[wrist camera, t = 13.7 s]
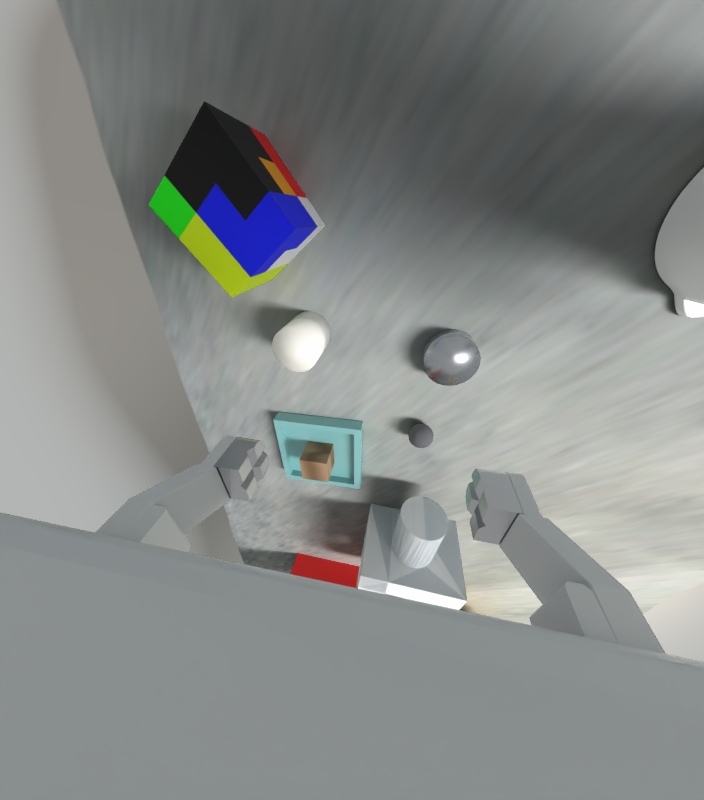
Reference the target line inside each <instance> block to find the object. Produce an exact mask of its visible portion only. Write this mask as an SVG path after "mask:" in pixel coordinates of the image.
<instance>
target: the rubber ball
mask: <svg viewBox="0 0 704 800" xmlns="http://www.w3.org/2000/svg"><path fill="white" fill-rule="evenodd" d="M409 440H410V442H411V443H412V444H413V445H414V446H415V447H418V448H425V447H427V446H429V445H430V444H431V443H432V441H433V432H432V430H431V428H430V427H429V426H427V425H425V424H416V425H414V426H413V427H412V428H411V429H410V431H409Z"/></svg>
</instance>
